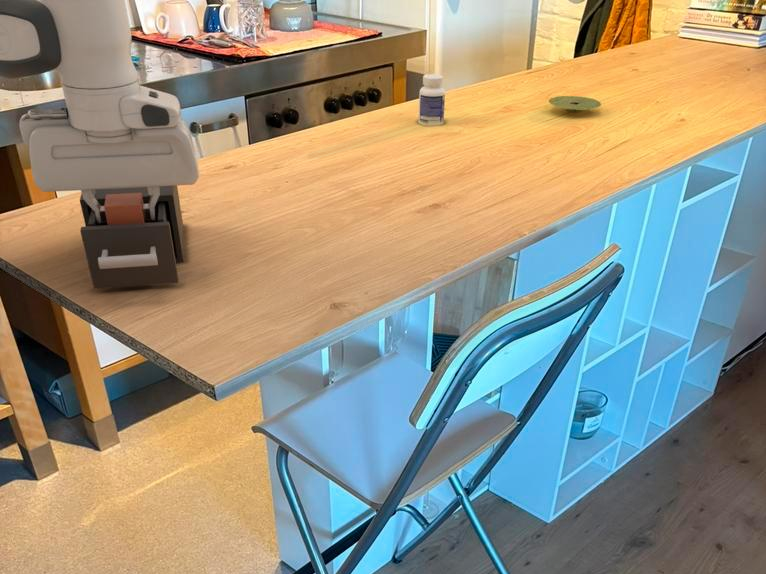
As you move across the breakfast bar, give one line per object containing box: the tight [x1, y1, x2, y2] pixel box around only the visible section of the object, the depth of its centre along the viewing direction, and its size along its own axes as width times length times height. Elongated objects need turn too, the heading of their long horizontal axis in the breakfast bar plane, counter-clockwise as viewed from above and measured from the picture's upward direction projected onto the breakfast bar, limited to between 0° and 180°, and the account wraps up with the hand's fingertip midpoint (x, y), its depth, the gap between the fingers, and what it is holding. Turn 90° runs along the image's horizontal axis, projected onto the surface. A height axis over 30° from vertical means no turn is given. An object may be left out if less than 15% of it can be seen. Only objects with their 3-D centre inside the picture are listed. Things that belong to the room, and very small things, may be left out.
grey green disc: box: [548, 95, 602, 113], centre depth 177 cm, size 11×11×2 cm
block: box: [104, 193, 147, 225], centre depth 106 cm, size 4×4×4 cm
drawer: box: [79, 201, 179, 289], centre depth 108 cm, size 17×11×8 cm, turn 11°
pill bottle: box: [418, 73, 446, 127], centre depth 166 cm, size 5×5×9 cm
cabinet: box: [79, 185, 185, 264], centre depth 116 cm, size 14×12×10 cm
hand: (127, 220), depth 107 cm, fingers closed on block, 4 cm apart
